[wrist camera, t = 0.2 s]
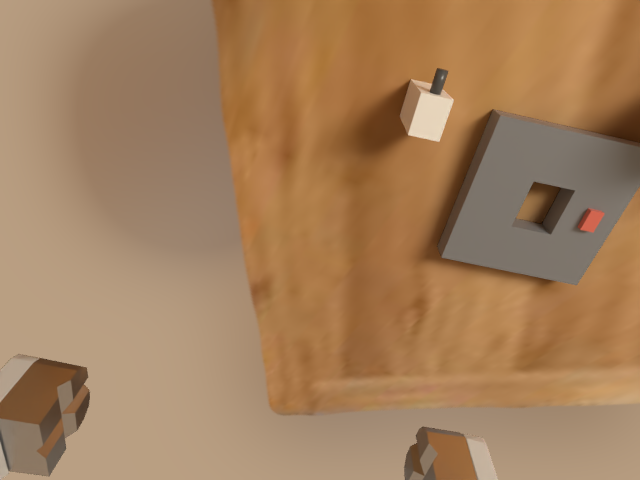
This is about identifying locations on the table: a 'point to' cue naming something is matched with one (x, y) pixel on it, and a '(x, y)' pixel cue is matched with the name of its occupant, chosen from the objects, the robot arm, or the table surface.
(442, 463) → the robot arm
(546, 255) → the socket plate
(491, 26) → the table surface
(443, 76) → the plug
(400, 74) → the table surface
